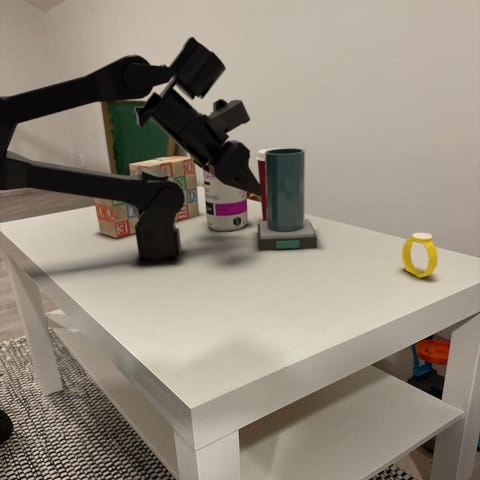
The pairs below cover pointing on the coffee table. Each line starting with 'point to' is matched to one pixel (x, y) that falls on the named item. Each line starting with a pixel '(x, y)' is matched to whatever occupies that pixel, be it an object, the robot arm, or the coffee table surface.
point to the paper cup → (263, 178)
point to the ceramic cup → (285, 189)
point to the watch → (431, 251)
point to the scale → (286, 238)
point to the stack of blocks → (122, 214)
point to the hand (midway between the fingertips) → (253, 188)
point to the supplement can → (224, 205)
